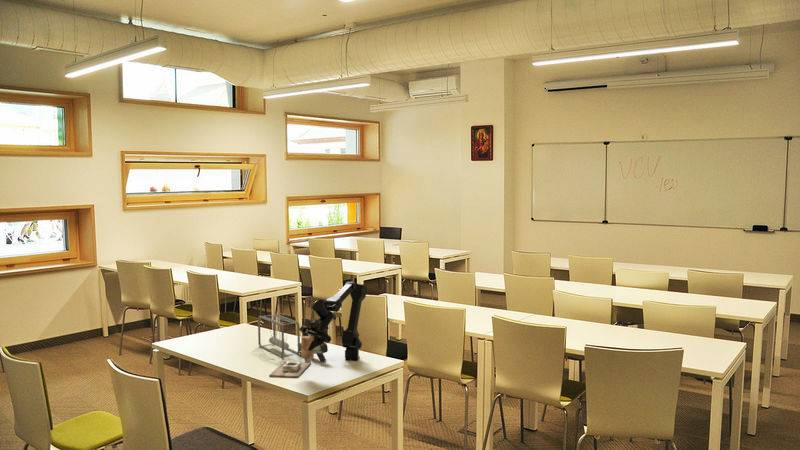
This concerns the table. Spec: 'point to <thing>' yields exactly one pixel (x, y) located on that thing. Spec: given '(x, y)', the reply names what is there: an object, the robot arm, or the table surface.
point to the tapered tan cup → (305, 346)
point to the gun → (319, 351)
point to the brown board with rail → (290, 369)
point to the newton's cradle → (276, 341)
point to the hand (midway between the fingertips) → (305, 349)
